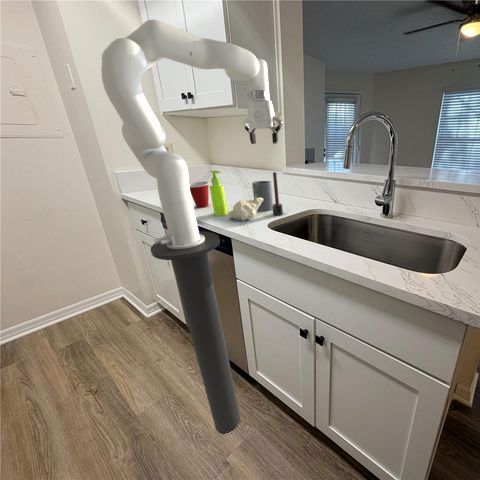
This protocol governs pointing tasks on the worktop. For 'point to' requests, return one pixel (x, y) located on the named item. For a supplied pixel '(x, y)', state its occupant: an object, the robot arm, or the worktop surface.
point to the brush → (276, 198)
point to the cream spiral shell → (245, 209)
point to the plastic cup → (200, 193)
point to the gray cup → (263, 194)
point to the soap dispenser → (218, 195)
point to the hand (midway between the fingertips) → (264, 143)
